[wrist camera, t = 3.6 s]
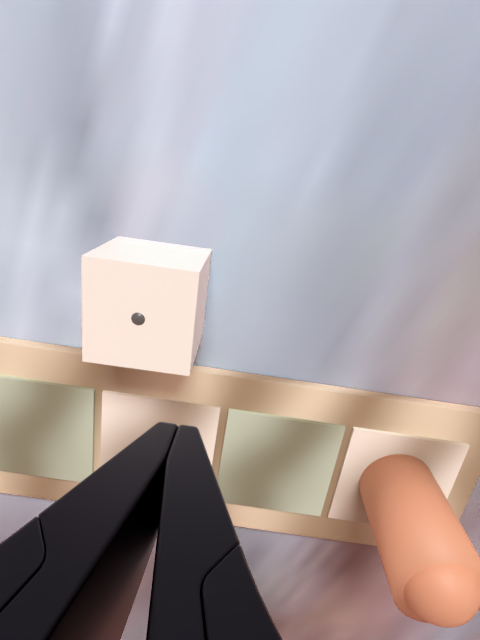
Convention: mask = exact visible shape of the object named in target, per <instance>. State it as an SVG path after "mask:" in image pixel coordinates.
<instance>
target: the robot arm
mask: <svg viewBox="0 0 480 640" xmlns="http://www.w3.org/2000/svg"><path fill="white" fill-rule="evenodd" d="M156 537H157V544H156V553H155V562H154V571H153V581H152V590H151V599H150V608H149V618H148V627H147V636H146V640H282V638H281V636H280V634H279V632H278V630H277V628H276V626H275V624H274V623H273V620H272V618H271V616H270V614H269V612H268V610H267V608H266V606H265V604H264V602H263V600H262V598H261V595H260V593H259V591H258V589H257V586H256V584H255V581H254V579H253V576H252V574H251V571H250V569H249V566H248V564H247V561H246V558H245V556H244V553H243V550H242V547H241V546H239V545H240V543H239V540H238V537H237V534H236V531H235V529H234V526H233V523H232V520H231V518H230V515H229V512H228V509H227V507H226V504H225V501H224V498H223V495H222V493H221V490H220V487H219V484H218V482H217V479H216V476H215V473H214V471H213V468H212V465H211V462H210V460H209V457H208V454H207V451H206V449H205V446H204V443H203V440H202V437H201V435H200V432H199V429H198V428H197V427H195V426H189V425H179V426H177V424H175V423H168V422H158V423H156V424H155V425H154V426H152V427H151V428H150V429H149V430H147V431H146V432H145V433H143V434H142V435H141V436H140V437H138V438H137V439H136V440H134V441H133V442H132V443H130V444H129V445H128V446H127V447H125V448H124V449H123V450H121V451H120V452H119V453H118V454H116V455H115V456H114V457H112V458H111V459H110V460H109V461H107V462H106V463H105V464H103V465H102V466H101V467H99V468H98V469H97V470H96V471H94V472H93V473H92V474H90V475H89V476H88V477H87V478H85V479H84V480H83V481H81V482H80V483H79V484H78V485H76V486H75V487H74V488H72V489H71V490H70V491H68V492H67V493H66V494H65V495H63V496H62V497H61V498H59V499H58V500H57V501H56V502H54V503H53V504H52V505H50V506H49V507H48V508H47V509H45V510H44V511H43V512H41V513H40V514H39V518H38V517H35V518H33V519H32V520H31V521H29V522H28V523H27V524H26V525H24V526H23V527H22V528H20V529H19V530H18V531H16V532H15V533H14V534H12V535H11V536H10V537H8V538H7V539H6V540H4V541H3V542H2V543H0V640H120V639H121V636H122V633H123V630H124V628H125V625H126V622H127V619H128V616H129V613H130V611H131V608H132V605H133V602H134V599H135V597H136V594H137V591H138V588H139V585H140V583H141V580H142V577H143V574H144V571H145V568H146V566H147V563H148V560H149V557H150V554H151V552H152V549H153V546H154V543H155V540H156Z"/></svg>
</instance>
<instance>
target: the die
mask: <svg viewBox="0 0 480 640" xmlns="http://www.w3.org/2000/svg"><path fill="white" fill-rule="evenodd" d="M211 254H212V249H206V248H199V247H192V246H185V245H177V244H170V243H163V242H156V241H149V240H142V239H135V238H128V237H120V236H118V237H116V238H114V239H112V240H111V241H109V242H107V243H105V244H103V245H101V246H99V247H97V248H95V249H93V250H91V251H89V252H87V253H86V254H84V255H82V256H81V272H82V361H83V362H90V363H97V364H104V365H112V366H119V367H126V368H133V369H141V370H148V371H155V372H162V373H170V374H177V375H184V376H190V372H191V369H192V366H193V363H194V360H195V357H196V354H197V351H198V348H199V345H200V342H201V339H202V335H203V328H204V318H205V309H206V300H207V291H208V282H209V272H210V263H211Z"/></svg>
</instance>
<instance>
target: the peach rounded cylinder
mask: <svg viewBox="0 0 480 640" xmlns="http://www.w3.org/2000/svg"><path fill="white" fill-rule="evenodd" d="M359 490H360V494H361V497H362V500H363V503H364V507H365V510H366V513H367V516H368V519H369V522H370V526H371V529H372V532H373V535H374V538H375V542H376V545H377V548H378V551H379V554H380V557H381V561H382V564H383V567H384V570H385V573H386V577H387V580H388V583H389V586H390V589H391V593H392V596H393V599H394V602H395V604H396V606H397V607H398V609H399V610H400V611H401V612H402V613H403V614H405V615H406V616H408V617H410V618H412V619H414V620H417V621H420V622H425V623H431V624H433V625H436V626H440V627H457V626H461V625H463V624H465V623H467V622H468V621H469V620H471V619H472V618H473V617H474V615H475V614H476V613H477V611H478V610H480V557H479V555H478V553H477V552H476V550H475V548H474V546H473V545H472V543H471V541H470V539H469V538H468V536H467V534H466V532H465V531H464V529H463V527H462V525H461V523H460V522H459V520H458V518H457V516H456V515H455V513H454V511H453V509H452V508H451V506H450V504H449V502H448V501H447V499H446V497H445V495H444V493H443V492H442V490H441V488H440V486H439V485H438V483H437V481H436V479H435V478H434V476H433V474H432V472H431V471H430V469H429V467H428V466H427V465H426V464H425V463H424V462H423V461H422V460H420V459H418V458H416V457H414V456H410V455H405V454H394V455H388V456H385V457H382V458H379V459H377V460H376V461H374V462H372V463H371V464H370V465H369V466H368V467H367V468H366V469H365V470H364V471H363V473H362V475H361V477H360V481H359Z"/></svg>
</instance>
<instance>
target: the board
mask: <svg viewBox="0 0 480 640" xmlns="http://www.w3.org/2000/svg"><path fill="white" fill-rule="evenodd" d="M158 422H168V423H175V424H177V426H179V425H189V426H195V427H197V428H198V429H199V432H200V435H201V437H202V440H203V443H204V446H205V449H206V451H207V454H208V457H209V460H210V462H211V465H212V468H213V471H214V473H215V476H216V479H217V482H218V484H219V487H220V490H221V493H222V495H223V498H224V501H225V504H226V507H227V509H228V512H229V515H230V518H231V520H232V523H233V526H239V527H246V528H253V529H260V530H267V531H274V532H281V533H288V534H295V535H302V536H309V537H316V538H323V539H330V540H337V541H344V542H351V543H358V544H365V545H372V546H377V545H376V542H375V538H374V535H373V532H372V529H371V526H370V522H369V519H368V516H367V513H366V510H365V507H364V503H363V500H362V497H361V494H360V490H359V481H360V477H361V475H362V473H363V471H364V470H365V469H366V468H367V467H368V466H369V465H370V464H371V463H372V462H374V461H376V460H377V459H379V458H382V457H385V456H388V455H394V454H405V455H410V456H414V457H416V458H418V459H420V460H422V461H423V462H424V463H425V464H426V465H427V466H428V467H429V469H430V471H431V472H432V474H433V476H434V478H435V479H436V481H437V483H438V485H439V486H440V488H441V490H442V492H443V493H444V495H445V497H446V499H447V501H448V502H449V504H450V506H451V508H452V509H453V511H454V513H455V515H456V516H457V518H458V520H460V517H461V515H462V513H463V511H464V509H465V506H466V504H467V502H468V500H469V497H470V495H471V493H472V491H473V489H474V486H475V484H476V482H477V480H478V477H479V475H480V407H474V406H467V405H460V404H453V403H447V402H440V401H433V400H426V399H420V398H413V397H406V396H399V395H392V394H386V393H379V392H372V391H365V390H359V389H352V388H345V387H338V386H332V385H325V384H318V383H311V382H305V381H298V380H291V379H284V378H278V377H271V376H264V375H257V374H251V373H244V372H237V371H230V370H224V369H217V368H210V367H203V366H197V365H193V366H192V369H191V372H190V376H184V375H177V374H170V373H162V372H155V371H148V370H141V369H133V368H126V367H119V366H112V365H104V364H97V363H90V362H83V361H82V348H75V347H68V346H61V345H55V344H48V343H41V342H34V341H28V340H21V339H14V338H7V337H1V336H0V493H7V494H14V495H21V496H28V497H35V498H42V499H49V500H56V501H57V500H58V499H59V498H61V497H62V496H63V495H65V494H66V493H67V492H68V491H70V490H71V489H72V488H74V487H75V486H76V485H78V484H79V483H80V482H81V481H83V480H84V479H85V478H87V477H88V476H89V475H90V474H92V473H93V472H94V471H96V470H97V469H98V468H99V467H101V466H102V465H103V464H105V463H106V462H107V461H109V460H110V459H111V458H112V457H114V456H115V455H116V454H118V453H119V452H120V451H121V450H123V449H124V448H125V447H127V446H128V445H129V444H130V443H132V442H133V441H134V440H136V439H137V438H138V437H140V436H141V435H142V434H143V433H145V432H146V431H147V430H149V429H150V428H151V427H152V426H154V425H155V424H156V423H158Z"/></svg>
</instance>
